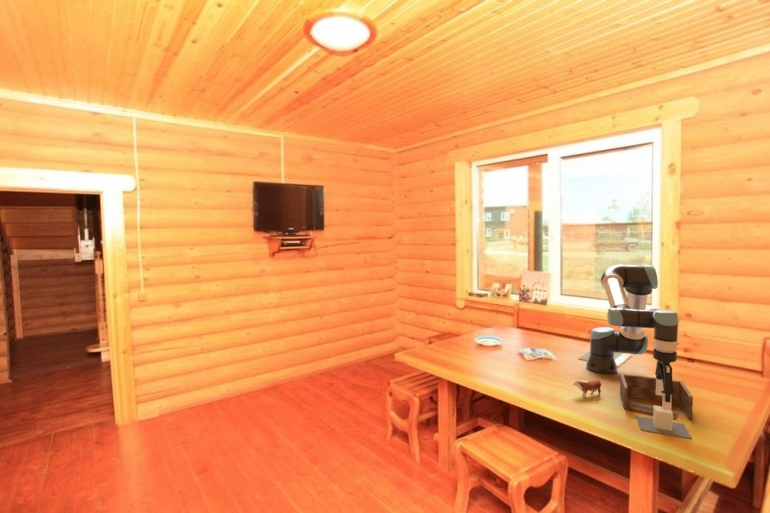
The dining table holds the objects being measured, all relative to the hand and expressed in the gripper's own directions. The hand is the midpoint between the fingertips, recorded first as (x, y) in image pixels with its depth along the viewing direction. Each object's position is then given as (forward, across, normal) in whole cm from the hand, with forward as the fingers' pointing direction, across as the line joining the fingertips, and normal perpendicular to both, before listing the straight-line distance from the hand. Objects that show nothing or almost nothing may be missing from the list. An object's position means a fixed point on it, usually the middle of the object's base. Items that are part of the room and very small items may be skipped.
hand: (663, 402), depth 154 cm
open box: (+11, +20, 0) cm, 22 cm away
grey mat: (+10, 0, 0) cm, 10 cm away
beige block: (+10, 0, 0) cm, 10 cm away
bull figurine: (+11, +20, +26) cm, 35 cm away
